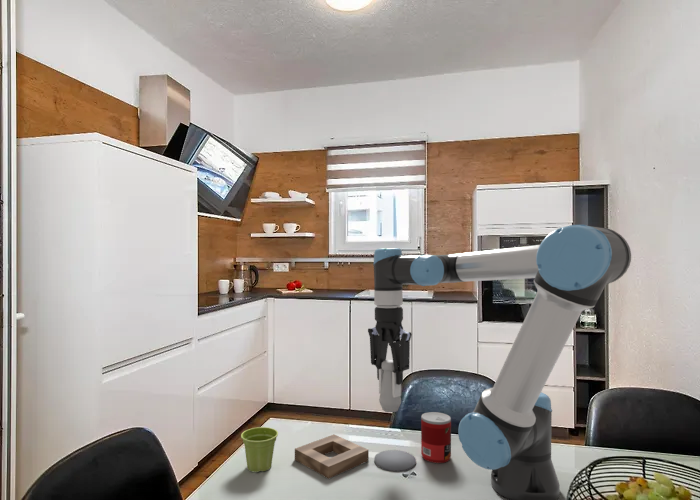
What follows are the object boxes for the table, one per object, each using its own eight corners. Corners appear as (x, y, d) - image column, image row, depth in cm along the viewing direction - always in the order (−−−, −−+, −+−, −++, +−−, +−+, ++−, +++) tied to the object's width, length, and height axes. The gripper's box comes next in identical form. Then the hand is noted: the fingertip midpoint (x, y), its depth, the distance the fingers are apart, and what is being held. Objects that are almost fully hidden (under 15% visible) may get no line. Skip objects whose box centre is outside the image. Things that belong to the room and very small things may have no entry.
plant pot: (256, 456, 125) (256, 424, 125) (285, 463, 121) (285, 430, 121) (233, 471, 116) (233, 437, 116) (263, 479, 112) (263, 443, 112)
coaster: (424, 461, 121) (424, 459, 121) (397, 475, 114) (397, 473, 114) (393, 448, 129) (393, 446, 129) (365, 460, 122) (365, 458, 122)
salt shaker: (375, 411, 120) (374, 361, 121) (385, 405, 125) (385, 357, 125) (395, 414, 117) (394, 363, 117) (405, 408, 122) (404, 359, 122)
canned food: (451, 465, 120) (451, 423, 120) (420, 462, 121) (420, 420, 121) (450, 452, 127) (450, 412, 127) (421, 449, 129) (421, 410, 129)
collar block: (368, 460, 122) (368, 449, 122) (328, 478, 112) (328, 466, 112) (333, 444, 132) (333, 434, 132) (294, 459, 122) (294, 448, 122)
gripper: (423, 307, 118) (424, 397, 118) (374, 303, 130) (375, 385, 130) (404, 309, 113) (406, 404, 112) (356, 305, 125) (357, 391, 125)
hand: (390, 394), depth 121 cm, fingers closed on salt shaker, 4 cm apart
